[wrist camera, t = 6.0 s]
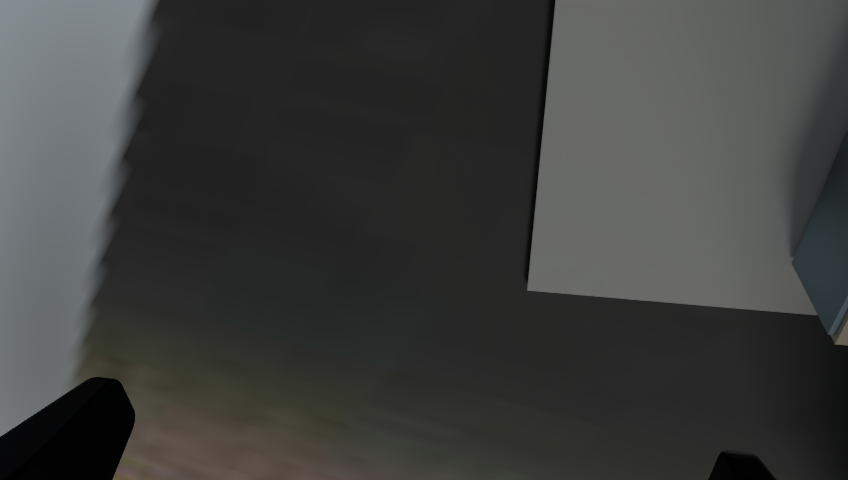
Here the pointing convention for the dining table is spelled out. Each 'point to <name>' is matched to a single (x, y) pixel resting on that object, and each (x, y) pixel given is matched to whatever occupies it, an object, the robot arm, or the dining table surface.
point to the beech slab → (828, 251)
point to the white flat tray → (687, 148)
